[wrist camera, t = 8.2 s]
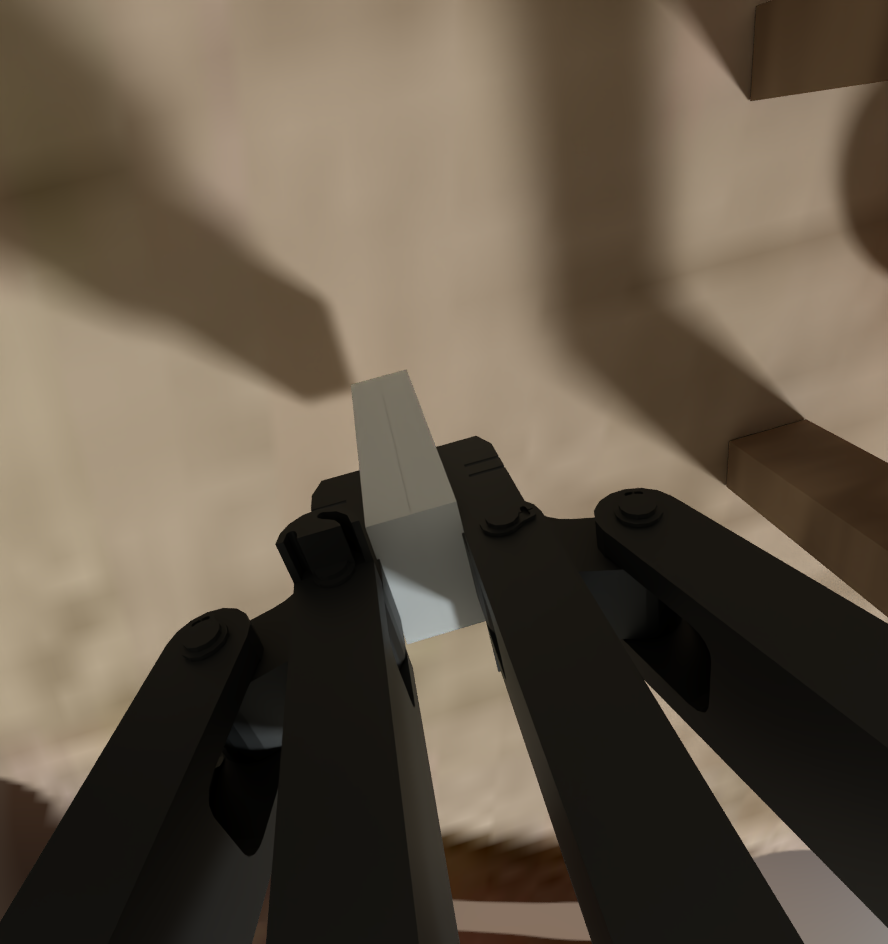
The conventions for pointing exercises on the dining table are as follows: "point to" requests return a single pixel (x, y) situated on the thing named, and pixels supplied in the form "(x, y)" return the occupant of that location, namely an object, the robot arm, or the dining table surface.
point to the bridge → (804, 443)
